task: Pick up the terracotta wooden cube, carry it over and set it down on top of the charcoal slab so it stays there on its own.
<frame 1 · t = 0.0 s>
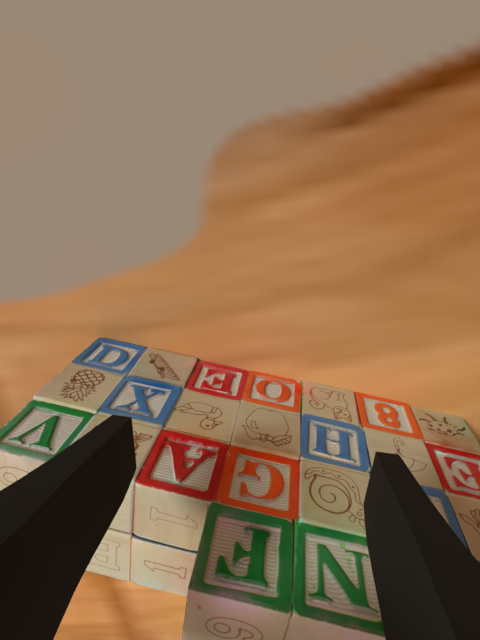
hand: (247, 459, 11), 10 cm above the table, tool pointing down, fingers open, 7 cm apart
stack of blocks: (266, 413, 23), on the table
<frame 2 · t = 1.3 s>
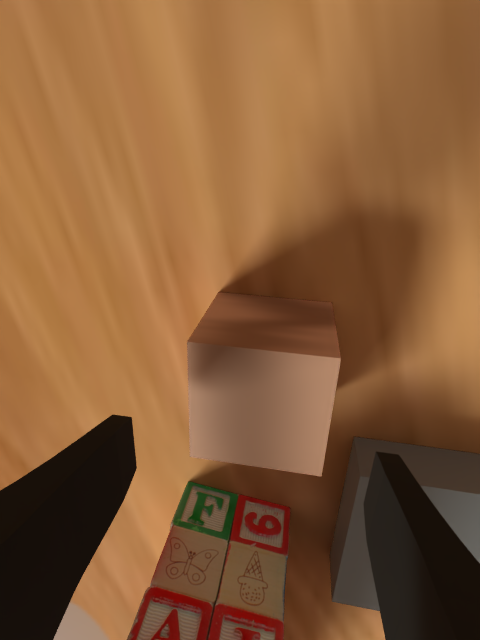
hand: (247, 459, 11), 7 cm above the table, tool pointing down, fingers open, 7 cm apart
stack of blocks: (213, 595, 27), on the table
charcoal slab: (425, 508, 21), on the table
terracotta cube: (270, 346, 18), on the table
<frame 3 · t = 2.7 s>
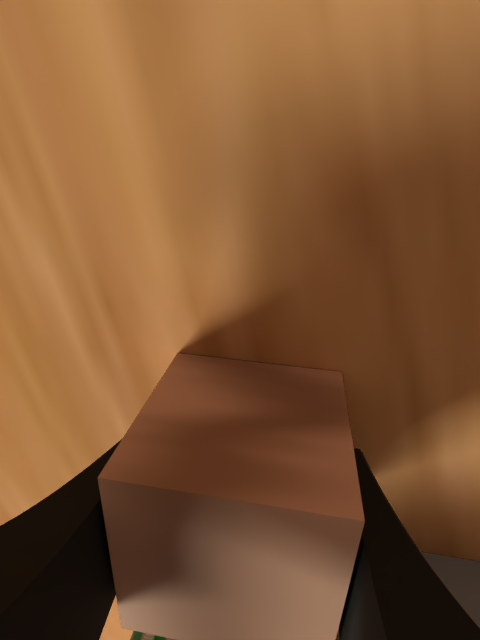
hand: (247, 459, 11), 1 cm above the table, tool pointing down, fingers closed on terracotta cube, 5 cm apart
charcoal slab: (463, 627, 15), on the table
terracotta cube: (253, 427, 13), on the table, touching gripper
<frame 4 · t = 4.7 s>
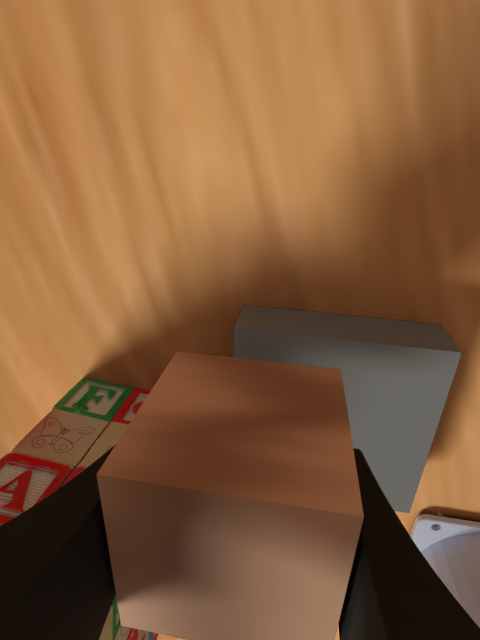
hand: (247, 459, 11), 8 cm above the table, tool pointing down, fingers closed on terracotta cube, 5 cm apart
stack of blocks: (132, 510, 26), on the table
charcoal slab: (325, 389, 20), on the table
terracotta cube: (252, 425, 13), point 7 cm above the table, touching gripper
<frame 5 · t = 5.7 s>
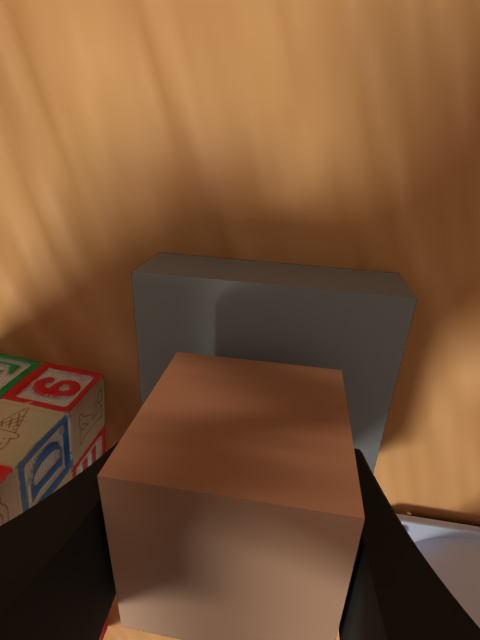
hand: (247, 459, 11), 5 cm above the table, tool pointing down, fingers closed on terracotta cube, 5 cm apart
stack of blocks: (61, 509, 23), on the table
charcoal slab: (266, 360, 17), on the table
terracotta cube: (253, 426, 13), point 4 cm above the table, touching gripper
when the fingers open (5 cm above the table, at t = 6.5 s): terracotta cube drops 1 cm, point 2 cm above the table.
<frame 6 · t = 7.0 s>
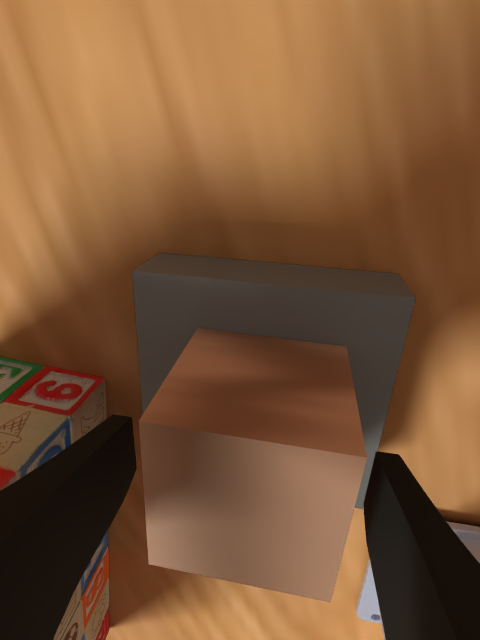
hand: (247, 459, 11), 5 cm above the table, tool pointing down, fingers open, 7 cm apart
stack of blocks: (63, 511, 23), on the table
charcoal slab: (266, 360, 17), on the table
terracotta cube: (264, 398, 14), point 2 cm above the table
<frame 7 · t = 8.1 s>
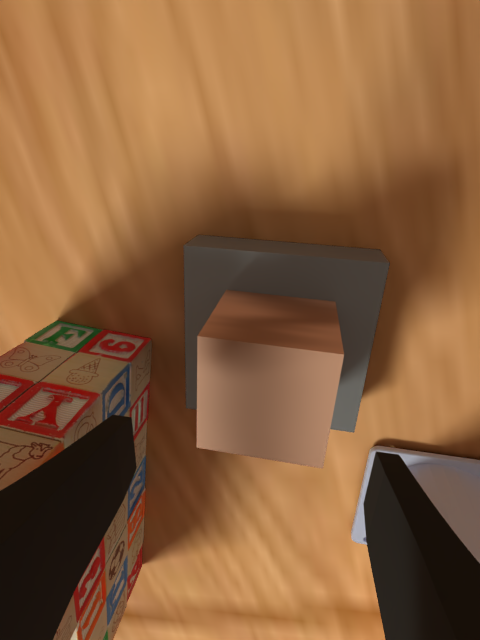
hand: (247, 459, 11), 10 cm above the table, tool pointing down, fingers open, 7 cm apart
stack of blocks: (108, 457, 27), on the table
charcoal slab: (279, 320, 21), on the table, touching terracotta cube
terracotta cube: (274, 343, 18), point 2 cm above the table, touching charcoal slab
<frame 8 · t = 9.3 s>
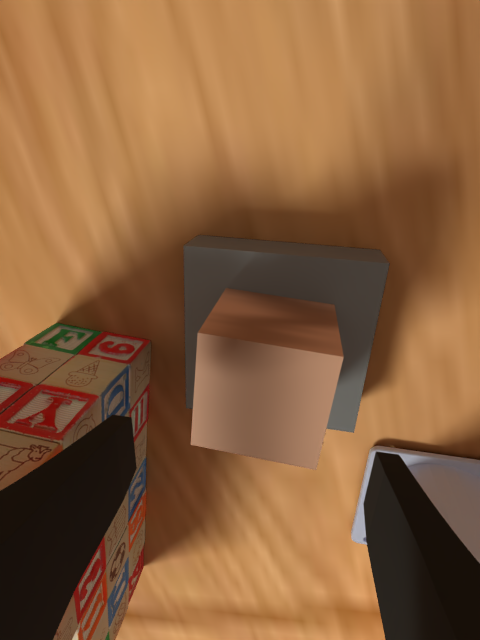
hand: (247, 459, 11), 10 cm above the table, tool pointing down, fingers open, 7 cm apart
stack of blocks: (108, 459, 28), on the table
charcoal slab: (279, 320, 21), on the table, touching terracotta cube
terracotta cube: (272, 344, 18), point 2 cm above the table, touching charcoal slab
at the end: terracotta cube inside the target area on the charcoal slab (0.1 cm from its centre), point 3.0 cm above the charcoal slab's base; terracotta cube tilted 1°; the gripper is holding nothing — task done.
